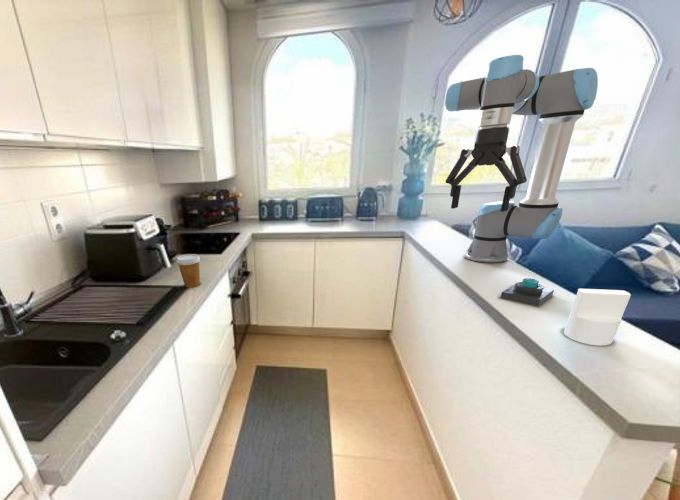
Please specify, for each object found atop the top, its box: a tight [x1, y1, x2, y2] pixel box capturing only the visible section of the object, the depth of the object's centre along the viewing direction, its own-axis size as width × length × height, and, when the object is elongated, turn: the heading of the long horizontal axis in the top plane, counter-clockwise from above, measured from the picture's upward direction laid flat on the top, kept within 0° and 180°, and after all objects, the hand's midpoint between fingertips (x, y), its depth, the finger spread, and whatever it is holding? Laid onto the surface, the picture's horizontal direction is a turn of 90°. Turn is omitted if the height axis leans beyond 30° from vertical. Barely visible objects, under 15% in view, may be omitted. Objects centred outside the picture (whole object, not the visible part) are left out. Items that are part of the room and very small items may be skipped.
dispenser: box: [500, 281, 555, 308], centre depth 108 cm, size 12×10×4 cm
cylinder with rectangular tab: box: [563, 288, 632, 347], centre depth 83 cm, size 9×9×12 cm
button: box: [521, 277, 540, 288], centre depth 107 cm, size 4×4×2 cm
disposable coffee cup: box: [176, 253, 201, 288], centre depth 142 cm, size 10×10×12 cm
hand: (477, 209), depth 101 cm, fingers open, 13 cm apart
